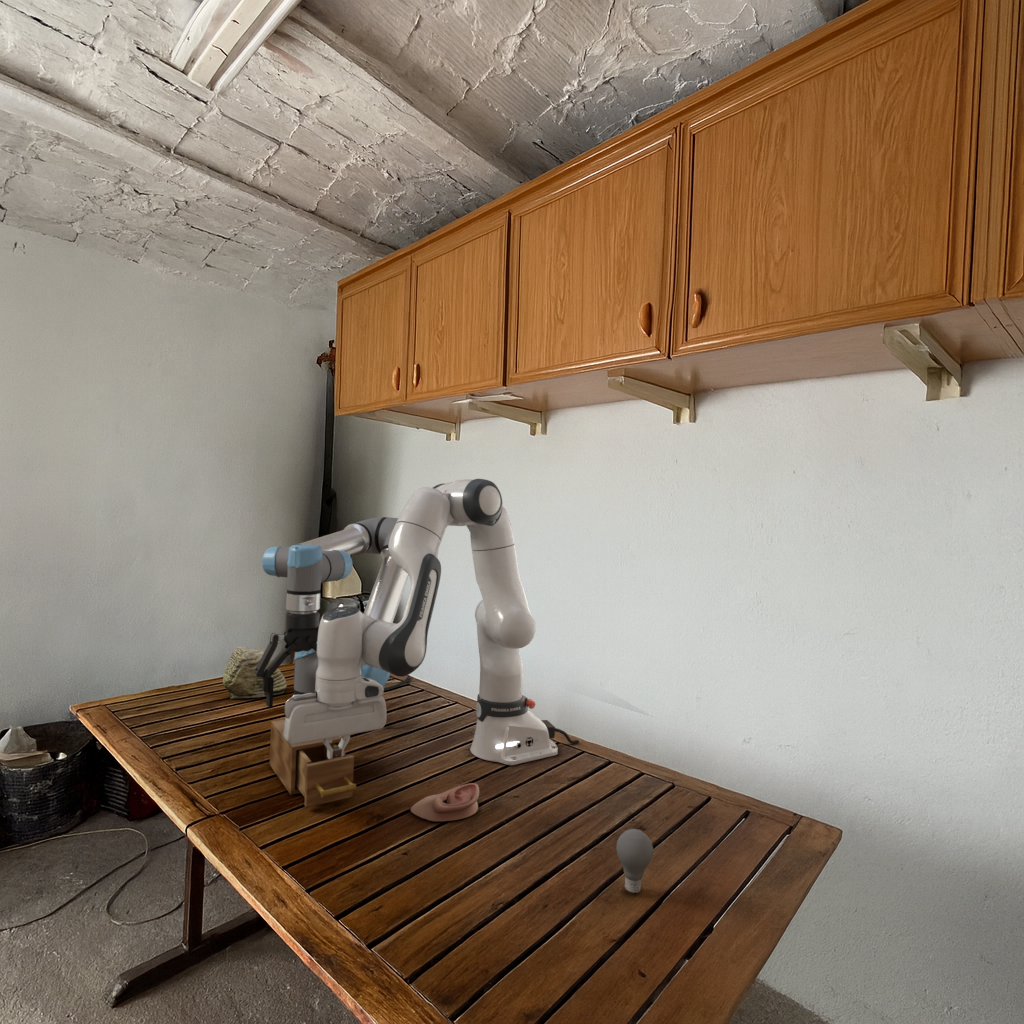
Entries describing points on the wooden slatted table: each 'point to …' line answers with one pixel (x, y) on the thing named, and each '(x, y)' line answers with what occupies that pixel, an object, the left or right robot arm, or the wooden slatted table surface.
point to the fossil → (249, 675)
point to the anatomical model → (449, 804)
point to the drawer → (323, 775)
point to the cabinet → (288, 755)
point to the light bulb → (634, 857)
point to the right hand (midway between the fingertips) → (335, 757)
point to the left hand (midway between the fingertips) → (299, 701)
